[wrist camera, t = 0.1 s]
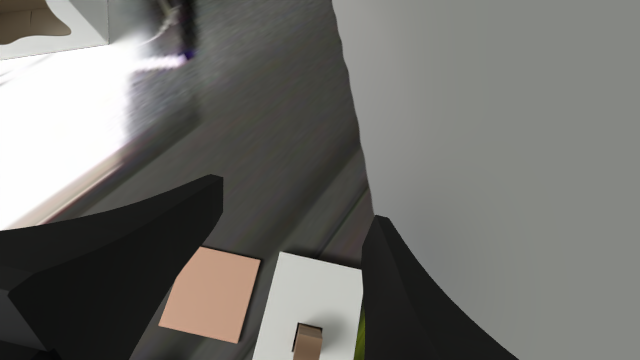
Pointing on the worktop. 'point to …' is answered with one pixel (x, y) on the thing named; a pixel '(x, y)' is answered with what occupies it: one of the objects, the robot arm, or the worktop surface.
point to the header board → (311, 308)
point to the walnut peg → (307, 343)
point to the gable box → (51, 26)
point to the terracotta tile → (211, 295)
